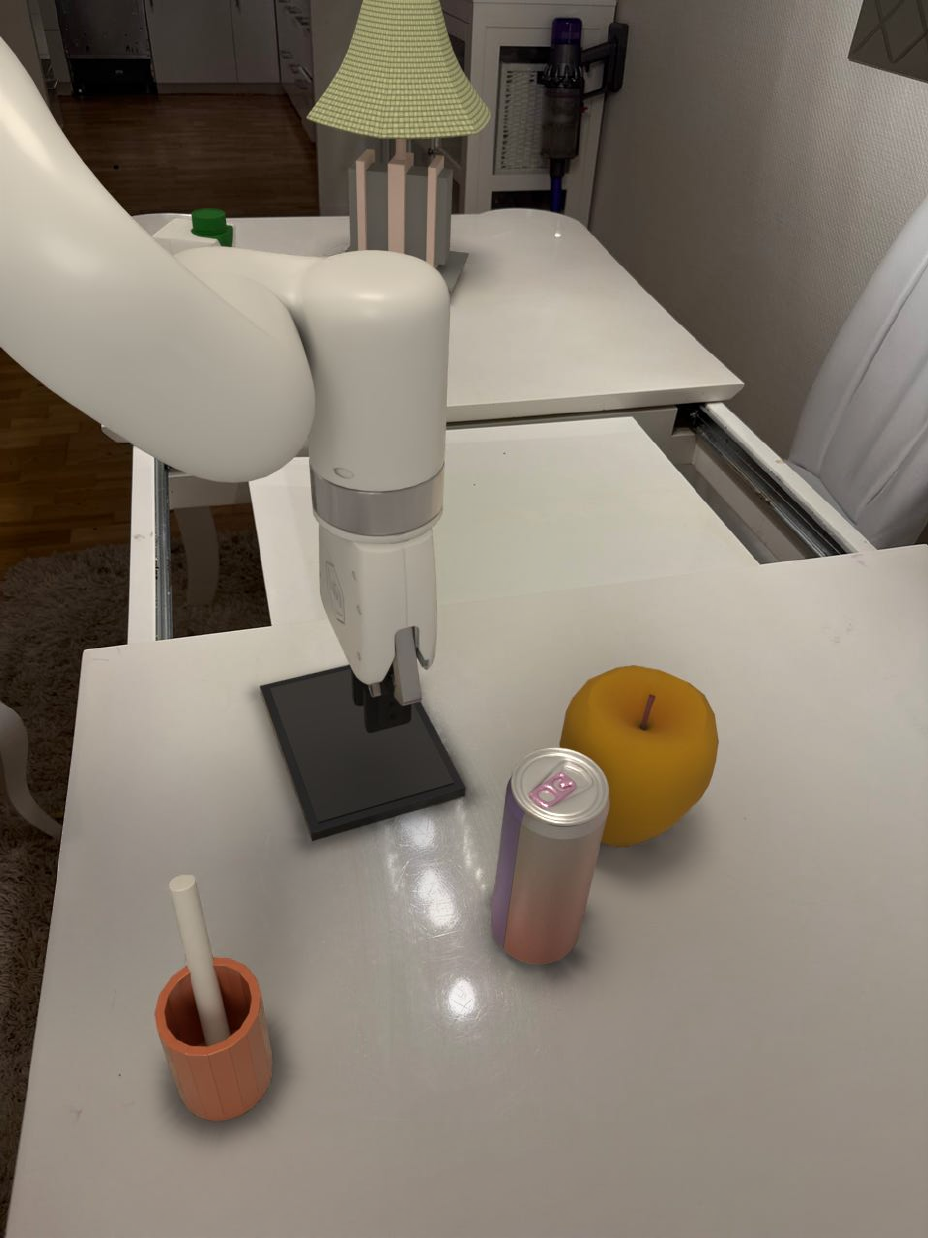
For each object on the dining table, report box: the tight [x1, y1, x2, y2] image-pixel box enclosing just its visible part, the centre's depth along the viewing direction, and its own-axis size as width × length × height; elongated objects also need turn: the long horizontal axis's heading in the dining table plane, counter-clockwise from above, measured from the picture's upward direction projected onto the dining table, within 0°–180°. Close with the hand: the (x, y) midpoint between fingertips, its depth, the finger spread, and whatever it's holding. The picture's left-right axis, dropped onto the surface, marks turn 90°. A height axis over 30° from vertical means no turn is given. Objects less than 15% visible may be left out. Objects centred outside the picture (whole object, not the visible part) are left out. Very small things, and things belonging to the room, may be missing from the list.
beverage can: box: [490, 746, 610, 965], centre depth 57 cm, size 6×6×15 cm
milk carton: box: [150, 207, 237, 256], centre depth 118 cm, size 9×9×20 cm
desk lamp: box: [305, 0, 492, 293], centre depth 139 cm, size 26×28×40 cm
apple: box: [559, 664, 720, 849], centre depth 65 cm, size 11×11×13 cm
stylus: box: [168, 873, 231, 1047], centre depth 51 cm, size 1×1×13 cm
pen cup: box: [154, 956, 274, 1122], centre depth 51 cm, size 5×5×8 cm
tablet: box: [259, 664, 467, 842], centre depth 74 cm, size 12×16×1 cm
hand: (381, 710), depth 64 cm, fingers closed
